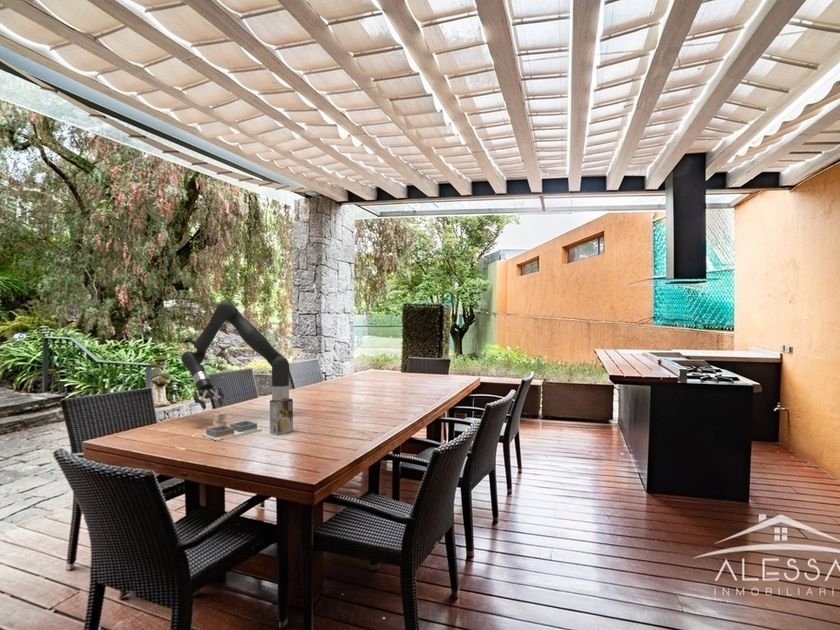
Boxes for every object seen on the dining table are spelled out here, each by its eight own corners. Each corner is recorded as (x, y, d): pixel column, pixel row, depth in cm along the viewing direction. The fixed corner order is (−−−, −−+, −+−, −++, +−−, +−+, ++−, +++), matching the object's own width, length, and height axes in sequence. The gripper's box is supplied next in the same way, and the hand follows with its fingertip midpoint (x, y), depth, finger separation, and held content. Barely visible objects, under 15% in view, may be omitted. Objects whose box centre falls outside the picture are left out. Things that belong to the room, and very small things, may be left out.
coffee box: (285, 429, 226) (285, 397, 226) (293, 431, 222) (293, 398, 222) (269, 433, 218) (269, 400, 218) (277, 435, 215) (277, 401, 214)
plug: (221, 427, 229) (221, 412, 229) (226, 429, 226) (226, 413, 226) (213, 429, 225) (213, 413, 225) (217, 431, 223) (217, 414, 222)
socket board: (246, 426, 232) (246, 419, 232) (261, 430, 223) (261, 423, 223) (201, 436, 214) (201, 428, 214) (216, 441, 205) (216, 433, 205)
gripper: (191, 379, 229) (201, 404, 222) (218, 376, 240) (229, 400, 233) (186, 388, 233) (196, 413, 226) (213, 385, 244) (224, 409, 237)
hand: (213, 406), depth 229 cm, fingers open, 8 cm apart
